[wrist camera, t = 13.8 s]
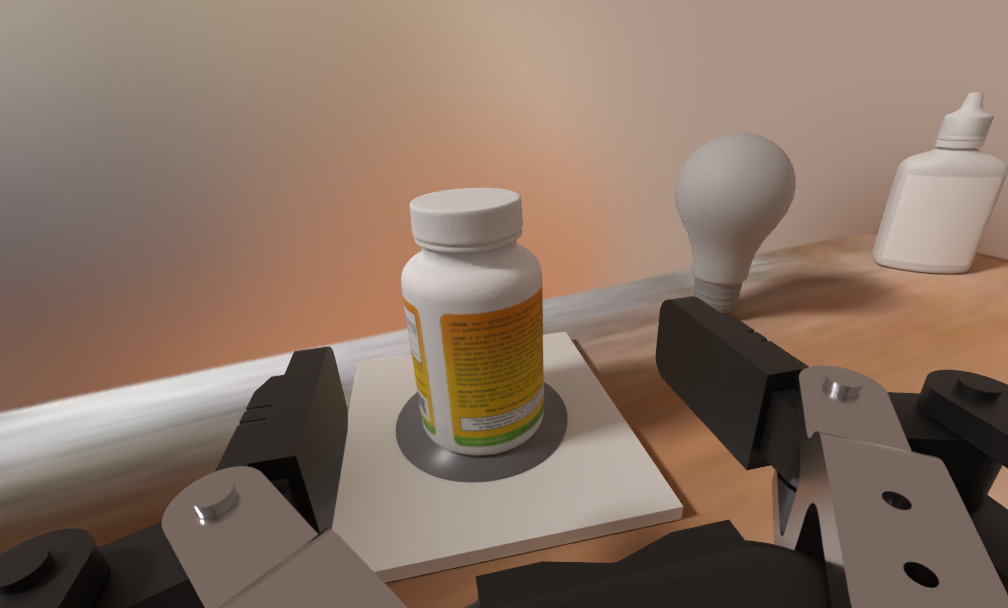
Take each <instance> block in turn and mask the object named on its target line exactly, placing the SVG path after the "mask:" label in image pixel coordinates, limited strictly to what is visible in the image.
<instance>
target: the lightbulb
mask: <svg viewBox="0 0 1008 608" xmlns="http://www.w3.org/2000/svg"><path fill="white" fill-rule="evenodd" d="M794 192H795V173H794V168H793V166H792V164H791V162H790V160H789V158H788V157H787V155H786V154H785V153H784V151H783V150H782V149H781V148H780V147H779V146H777V145H776V144H775V143H774V142H772V141H770V140H768V139H766V138H764V137H762V136H758V135H754V134H748V133H735V134H729V135H725V136H721V137H718V138H716V139H714V140H711V141H710V142H708V143H706V144H704V145H703V146H701V147H700V148H698V149H697V150H696V151H695V152H694V153H693V154H692V155H691V156H690V157H689V159H688V160H687V161H686V163H685V164H684V165H683V167H682V169H681V171H680V173H679V176H678V179H677V183H676V187H675V201H676V207H677V210H678V212H679V215H680V218H681V220H682V222H683V225H684V227H685V229H686V231H687V233H688V236H689V240H690V243H691V247H692V257H693V265H692V273H693V275H694V276H695V284H694V296H696V297H698V298H700V299H701V300H702V301H704V302H705V303H707V304H708V305H710V306H711V307H713V308H714V309H716V310H717V311H718V312H720V313H722V314H727V313H730V312H732V311H733V310H735V309H736V306H737V302H738V298H739V295H740V290H741V286H742V282H743V281H745V280H746V278H747V276H748V273H749V269H750V265H751V263H752V260H753V258H754V256H755V253H756V252H757V250H758V249H759V247H760V245H761V244H762V242H763V241H764V240H765V238H766V237H767V236H768V235H769V234H770V233H771V232H772V231H773V229H774V228H775V227H776V226H777V225H778V223H779V222H780V221H781V219H782V218H783V217H784V216H785V214H786V213H787V211H788V209H789V207H790V205H791V203H792V200H793V197H794Z"/></svg>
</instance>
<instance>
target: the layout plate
mask: <svg viewBox="0 0 1008 608" xmlns="http://www.w3.org/2000/svg"><path fill="white" fill-rule="evenodd" d="M543 366H544V414H543V419H542V422H541V424H540V426H539V428H538V429H537V431H536V432H535V433H534V434H533V435H532V436H531V437H530V438H529V439H528V440H527V441H525V442H524V443H523V444H521V445H519V446H518V447H515V448H513V449H511V450H508V451H505V452H501V453H497V454H491V455H479V456H477V455H465V454H459V453H455V452H451V451H449V450H446V449H444V448H442V447H440V446H439V445H437V444H436V443H435V442H434V441H433V440H432V439H431V438H430V437H429V436H428V434H427V433H426V431H425V428H424V426H423V422H422V417H421V412H420V406H419V399H418V393H417V386H416V379H415V373H414V367H413V360H412V354H406V355H399V356H392V357H385V358H378V359H371V360H364V361H357V366H356V372H355V378H354V384H353V390H352V395H351V401H350V407H349V413H348V432H347V438H346V444H345V451H344V457H343V463H342V469H341V475H340V482H339V488H338V494H337V500H336V506H335V512H334V519H333V525H332V530H333V531H334V532H335V533H337V534H338V535H339V536H340V537H341V538H342V539H343V540H344V541H345V543H346V544H347V545H348V546H349V547H350V548H351V549H352V550H353V551H354V552H355V553H356V554H357V555H358V556H359V557H360V558H361V559H362V560H363V561H364V562H365V563H366V564H367V565H368V566H369V568H370V569H371V570H372V571H373V572H374V573H375V574H376V575H377V576H378V577H379V578H380V579H381V580H382V581H383V582H384V583H386V582H391V581H396V580H400V579H405V578H410V577H414V576H419V575H424V574H428V573H433V572H437V571H442V570H447V569H451V568H456V567H461V566H465V565H470V564H475V563H479V562H484V561H489V560H493V559H498V558H502V557H507V556H512V555H516V554H521V553H526V552H530V551H535V550H540V549H544V548H549V547H554V546H558V545H563V544H567V543H572V542H577V541H581V540H586V539H591V538H595V537H600V536H605V535H609V534H614V533H618V532H623V531H628V530H632V529H637V528H642V527H646V526H651V525H656V524H660V523H665V522H670V521H674V520H679V519H681V518H682V512H683V505H682V504H681V502H680V501H679V499H678V498H677V496H676V495H675V493H674V492H673V490H672V489H671V487H670V486H669V485H668V483H667V482H666V480H665V479H664V477H663V476H662V474H661V473H660V471H659V470H658V468H657V467H656V465H655V464H654V462H653V461H652V459H651V458H650V456H649V455H648V453H647V452H646V450H645V449H644V447H643V446H642V444H641V443H640V442H639V440H638V439H637V437H636V436H635V434H634V433H633V431H632V430H631V428H630V427H629V425H628V424H627V422H626V421H625V419H624V418H623V416H622V415H621V413H620V412H619V410H618V409H617V407H616V406H615V404H614V403H613V401H612V400H611V398H610V397H609V396H608V394H607V393H606V391H605V390H604V388H603V387H602V385H601V384H600V382H599V381H598V379H597V378H596V376H595V375H594V373H593V372H592V370H591V369H590V367H589V366H588V364H587V363H586V361H585V360H584V358H583V357H582V355H581V354H580V353H579V351H578V350H577V348H576V347H575V345H574V344H573V342H572V341H571V339H570V338H569V336H568V335H567V333H566V332H560V333H553V334H546V335H543Z"/></svg>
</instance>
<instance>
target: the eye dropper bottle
mask: <svg viewBox="0 0 1008 608" xmlns="http://www.w3.org/2000/svg"><path fill="white" fill-rule="evenodd" d="M983 95H984V92H976V93H969V94H968V96H967V98H966V100H965V102H964V103H963V105H962V107H961V108H960V109H959V110H958V111H956V112H954V113H951V114H948V115H946V116H945V117H944V119H943V122H942V125H941V128H940V131H939V134H938V137H937V140H936V143H935V146H939V147H940V148H936V149H934V150H932V151H928V152H924V153H920V154H916V155H913V156H911V157H909V158H907V159H905V160H904V161H903V162H902V163H901V164H900V165H899V168H898V170H897V173H896V176H895V179H894V182H893V185H892V189H891V192H890V195H889V198H888V202H887V205H886V208H885V211H884V215H883V218H882V222H881V225H880V228H879V232H878V235H877V238H876V241H875V245H874V248H873V252H872V255H873V258H874V259H875V261H876V262H877V263H878V264H879V265H882V266H885V267H890V268H895V269H900V270H907V271H914V272H924V273H939V274H956V273H964V272H966V271H968V270H969V269H970V267H971V265H972V262H973V260H974V257H975V255H976V252H977V250H978V247H979V245H980V242H981V240H982V237H983V235H984V232H985V230H986V227H987V225H988V222H989V220H990V217H991V215H992V212H993V209H994V207H995V204H996V202H997V199H998V197H999V194H1000V191H1001V189H1002V186H1003V183H1004V180H1005V178H1006V174H1007V165H1006V164H1005V162H1003V161H1002V160H1001V159H999V158H997V157H995V156H993V155H990V154H986V153H983V152H981V151H980V150H979V149H976V148H980V147H983V145H984V142H985V139H986V136H987V134H988V131H989V128H990V125H991V123H992V120H993V115H991V114H989V113H987V112H985V111H984V110H983V108H982V106H983V97H984V96H983Z"/></svg>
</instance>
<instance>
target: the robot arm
mask: <svg viewBox="0 0 1008 608" xmlns="http://www.w3.org/2000/svg"><path fill="white" fill-rule="evenodd" d="M656 363H657V367H658V370H659V373H660V375H661V377H662V378H663V379H664V380H665V381H666V383H667V384H668V385H669V386H670V387H671V388H672V389H673V390H674V391H675V392H676V393H677V395H678V396H679V397H680V398H681V399H682V400H683V401H684V402H685V403H686V404H687V405H688V407H689V408H690V409H691V410H692V411H693V412H694V413H695V414H696V415H697V416H698V418H699V419H700V420H701V421H702V422H703V423H704V424H705V425H706V426H707V427H708V428H709V430H710V431H711V432H712V433H713V434H714V435H715V436H716V437H717V438H718V439H719V440H720V442H721V443H722V444H723V445H724V446H725V447H726V448H727V449H728V450H729V451H730V452H731V454H732V455H733V456H734V457H735V458H736V459H737V460H738V461H739V462H740V463H741V464H742V466H743V467H744V468H745V469H746V470H750V469H755V468H760V467H765V466H769V465H771V466H772V467H773V468H774V469H775V472H774V476H773V480H772V497H773V522H774V544H769V543H763V542H756V541H747V540H744V539H743V537H742V536H741V535H740V533H739V532H738V531H737V529H736V528H735V527H734V526H733V524H732V523H731V522H730V520H725V521H720V522H716V523H711V524H707V525H702V526H698V527H694V528H689V529H685V530H680V531H676V532H671V533H669V534H667V535H666V536H664V537H662V538H660V539H658V540H657V541H655V542H653V543H651V544H649V545H648V546H646V547H644V548H642V549H640V550H639V551H637V552H635V553H633V554H631V555H629V556H628V557H626V558H624V559H622V560H620V561H618V562H614V563H585V562H538V563H534V564H529V565H525V566H520V567H516V568H511V569H507V570H502V571H498V572H494V573H489V574H485V575H480V576H476V582H477V590H478V598H479V600H477V601H476V602H474V603H472V604H470V605H468V606H466V607H465V608H1008V510H1007V509H1006V508H1005V507H1003V506H1002V505H1001V504H999V503H998V502H996V501H995V500H994V499H992V498H991V497H990V496H988V495H987V494H988V492H989V490H990V488H991V486H992V484H993V482H994V480H995V479H996V477H997V475H998V473H999V471H1000V469H1001V467H1002V465H1003V466H1005V467H1006V468H1008V385H1007V384H1005V383H1002V382H1000V381H997V380H995V379H992V378H989V377H986V376H982V375H979V374H975V373H970V372H965V371H958V370H938V371H934V372H931V373H929V374H928V375H927V377H926V380H925V383H924V385H923V388H922V390H921V393H920V394H917V393H893V392H886V390H885V389H884V388H883V387H882V386H881V385H880V384H879V383H877V382H876V381H874V380H873V379H871V378H869V377H867V376H865V375H863V374H860V373H858V372H855V371H852V370H848V369H845V368H840V367H834V366H813V367H808V366H807V365H805V364H804V363H802V362H801V361H799V360H798V359H796V358H795V357H793V356H792V355H790V354H789V353H787V352H786V351H784V350H783V349H782V348H780V347H779V346H777V345H776V344H774V343H773V342H771V341H767V338H765V337H764V336H762V335H761V334H759V333H758V332H756V333H755V332H754V330H753V329H752V328H750V327H749V326H747V325H746V324H744V323H743V322H741V321H740V320H738V319H735V318H733V317H730V316H727V315H725V314H722V313H720V312H718V311H717V310H716V309H714V308H713V307H711V306H710V305H708V304H707V303H705V302H704V301H702V300H701V299H700V298H698V297H696V296H691V297H684V298H677V299H670V300H665V301H664V302H663V303H662V305H661V308H660V316H659V326H658V337H657V347H656ZM246 409H247V411H246V412H244V414H243V416H242V418H241V420H240V425H239V426H237V428H236V430H235V432H234V434H233V436H232V438H231V440H230V442H229V444H228V446H227V449H226V451H225V453H224V455H223V457H222V459H221V461H220V463H219V465H218V467H217V469H216V471H215V472H213V473H211V474H208V475H206V476H204V477H202V478H200V479H199V480H197V481H195V482H194V483H192V484H191V485H189V486H188V487H186V488H185V489H184V490H183V491H181V492H180V493H179V494H178V495H177V496H176V497H175V498H174V499H173V500H172V501H171V503H170V504H169V506H168V507H167V509H166V510H165V512H164V515H163V518H162V522H160V523H158V524H156V525H154V526H151V527H149V528H146V529H144V530H141V531H139V532H136V533H134V534H131V535H129V536H126V537H124V538H121V539H119V540H116V541H114V542H111V543H109V544H106V545H104V546H101V547H99V548H98V546H97V545H96V543H95V541H94V540H93V538H92V537H91V535H90V534H89V533H88V532H86V531H84V530H81V529H63V530H57V531H53V532H50V533H46V534H43V535H41V536H38V537H35V538H33V539H31V540H28V541H26V542H24V543H22V544H20V545H18V546H16V547H14V548H13V549H11V550H9V551H8V552H6V553H4V554H3V555H1V556H0V608H408V607H407V606H406V605H405V604H404V603H403V602H402V601H401V600H400V599H399V598H398V597H397V596H396V595H395V594H394V592H393V591H392V590H391V589H390V588H389V587H388V586H387V585H386V584H385V583H384V582H383V581H382V580H381V579H380V578H379V577H378V576H377V575H376V574H375V573H374V572H373V571H372V570H371V569H370V568H369V566H368V565H367V564H366V563H365V562H364V561H363V560H362V559H361V558H360V557H359V556H358V555H357V554H356V553H355V552H354V551H353V550H352V549H351V548H350V547H349V546H348V545H347V544H346V543H345V541H344V540H343V539H342V538H341V537H340V536H339V535H338V534H337V533H335V532H334V531H333V530H332V525H333V519H334V512H335V506H336V500H337V494H338V488H339V482H340V475H341V469H342V463H343V457H344V451H345V444H346V438H347V432H348V413H347V406H346V401H345V397H344V393H343V389H342V385H341V381H340V376H339V372H338V368H337V364H336V360H335V356H334V353H333V350H332V348H331V347H322V348H315V349H308V350H300V351H295V352H294V353H293V355H292V358H291V360H290V363H289V365H288V367H287V370H286V372H285V375H280V376H273V377H271V378H270V379H268V380H267V381H266V382H265V383H264V384H263V385H262V386H261V387H260V388H258V389H257V390H256V391H255V392H254V394H253V396H252V398H251V400H250V402H249V404H248V406H247V408H246Z"/></svg>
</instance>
